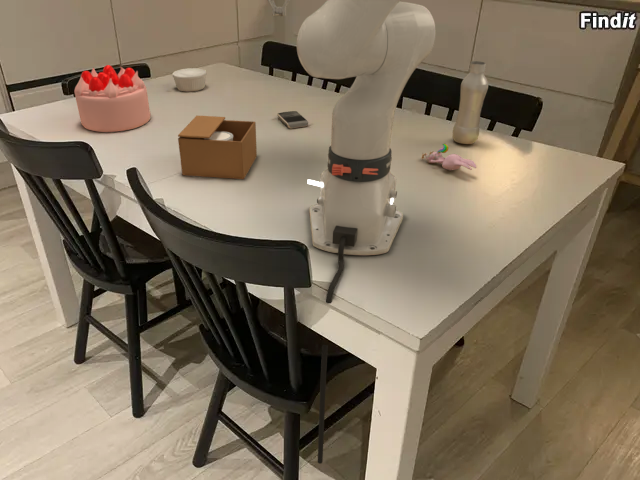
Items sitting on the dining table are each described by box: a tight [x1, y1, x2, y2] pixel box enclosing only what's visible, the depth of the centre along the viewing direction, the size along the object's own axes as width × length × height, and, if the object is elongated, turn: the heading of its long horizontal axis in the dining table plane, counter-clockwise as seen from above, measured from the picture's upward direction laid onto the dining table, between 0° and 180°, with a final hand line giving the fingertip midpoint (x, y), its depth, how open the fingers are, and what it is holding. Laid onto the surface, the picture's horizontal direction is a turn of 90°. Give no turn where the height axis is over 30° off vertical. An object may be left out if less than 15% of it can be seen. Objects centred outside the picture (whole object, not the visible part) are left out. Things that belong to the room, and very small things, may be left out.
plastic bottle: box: [452, 60, 489, 145], centre depth 141 cm, size 6×7×20 cm
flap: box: [177, 115, 226, 138], centre depth 131 cm, size 14×7×1 cm, turn 170°
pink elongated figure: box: [421, 143, 477, 171], centre depth 131 cm, size 6×6×15 cm
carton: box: [177, 119, 258, 180], centre depth 133 cm, size 14×15×9 cm
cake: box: [74, 64, 151, 133], centre depth 159 cm, size 20×20×14 cm
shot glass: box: [204, 131, 233, 141], centre depth 134 cm, size 7×7×7 cm
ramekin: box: [172, 67, 207, 93], centre depth 189 cm, size 11×11×5 cm
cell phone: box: [276, 110, 309, 130], centre depth 161 cm, size 6×11×1 cm, turn 19°
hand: (279, 15), depth 129 cm, fingers closed
